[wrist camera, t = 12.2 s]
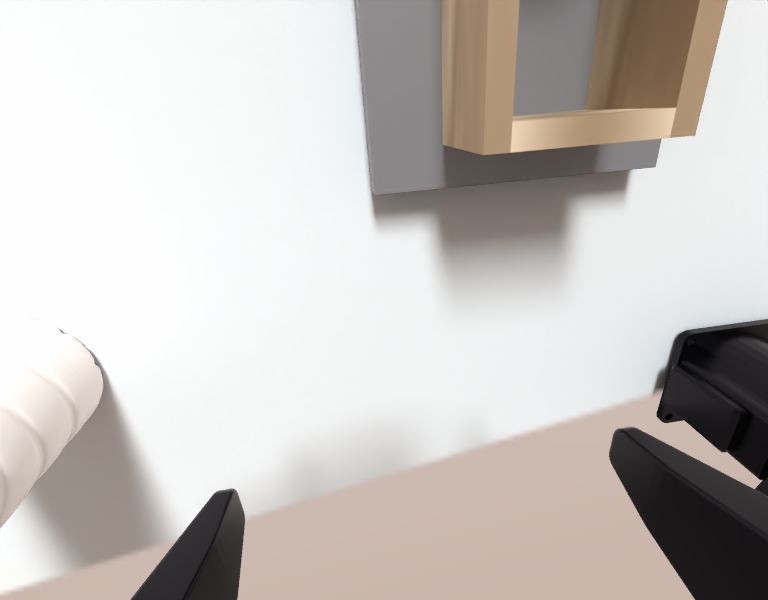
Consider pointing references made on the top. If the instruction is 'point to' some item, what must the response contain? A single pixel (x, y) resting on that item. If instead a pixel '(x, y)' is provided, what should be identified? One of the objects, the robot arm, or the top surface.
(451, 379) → the top surface
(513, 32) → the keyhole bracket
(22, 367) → the water bottle
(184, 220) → the top surface
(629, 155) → the grey plate with ball
